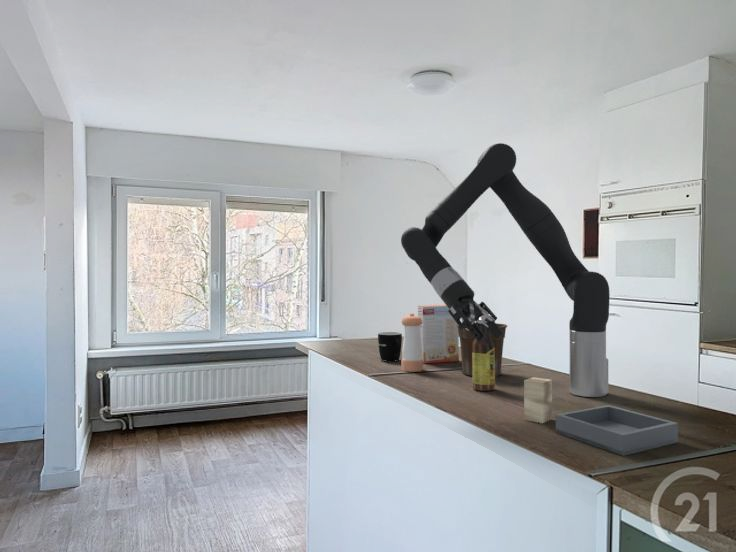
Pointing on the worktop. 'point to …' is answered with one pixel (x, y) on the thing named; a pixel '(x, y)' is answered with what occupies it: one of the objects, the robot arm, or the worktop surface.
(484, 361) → the sauce bottle
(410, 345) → the pepper shaker
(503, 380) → the worktop surface
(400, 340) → the mug
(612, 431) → the box
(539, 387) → the maple block
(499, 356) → the plant pot
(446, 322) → the cracker box
